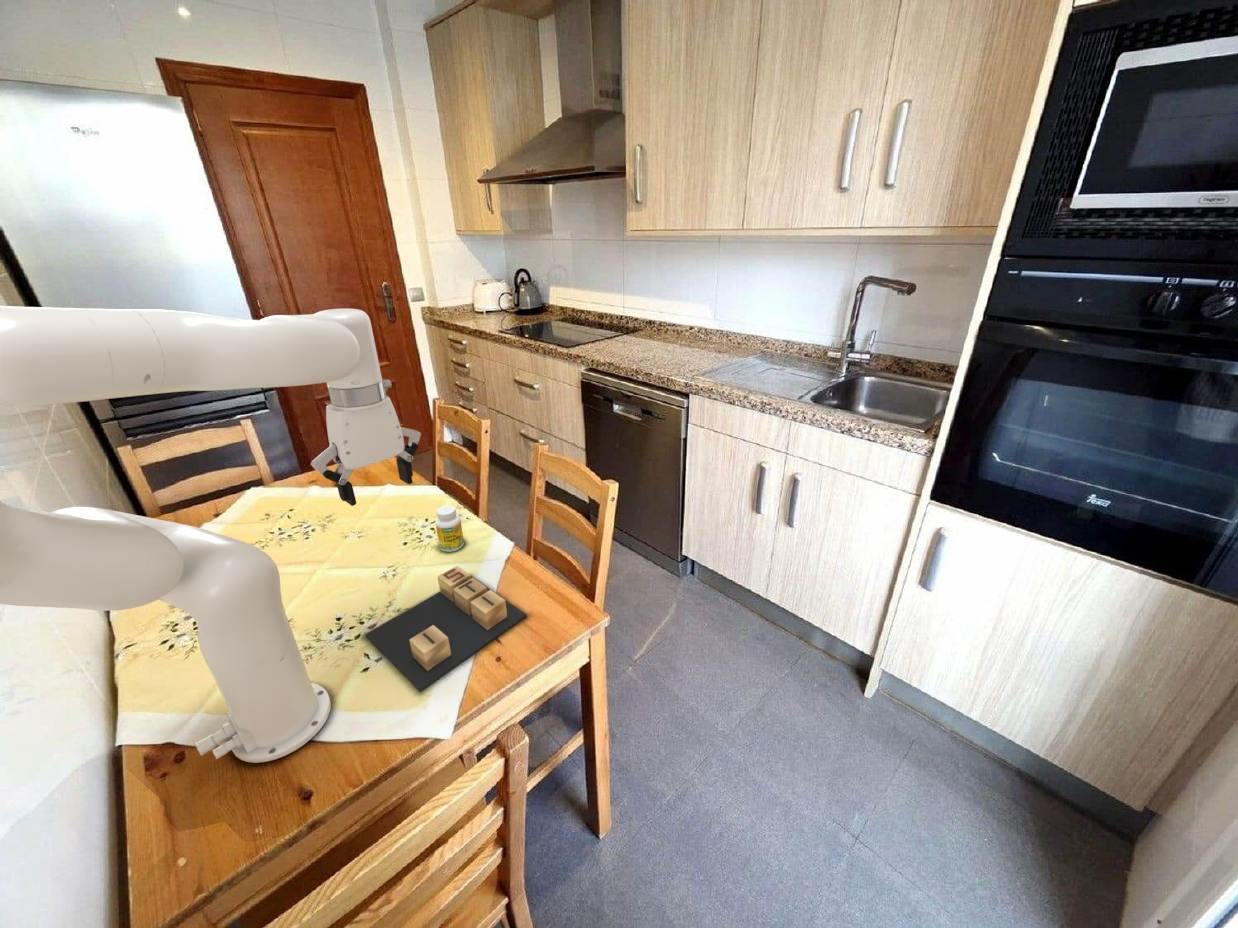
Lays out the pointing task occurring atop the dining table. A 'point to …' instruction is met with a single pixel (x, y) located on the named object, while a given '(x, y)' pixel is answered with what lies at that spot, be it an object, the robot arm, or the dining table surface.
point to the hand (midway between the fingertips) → (379, 491)
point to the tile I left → (430, 647)
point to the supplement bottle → (449, 529)
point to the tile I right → (488, 609)
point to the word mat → (450, 621)
